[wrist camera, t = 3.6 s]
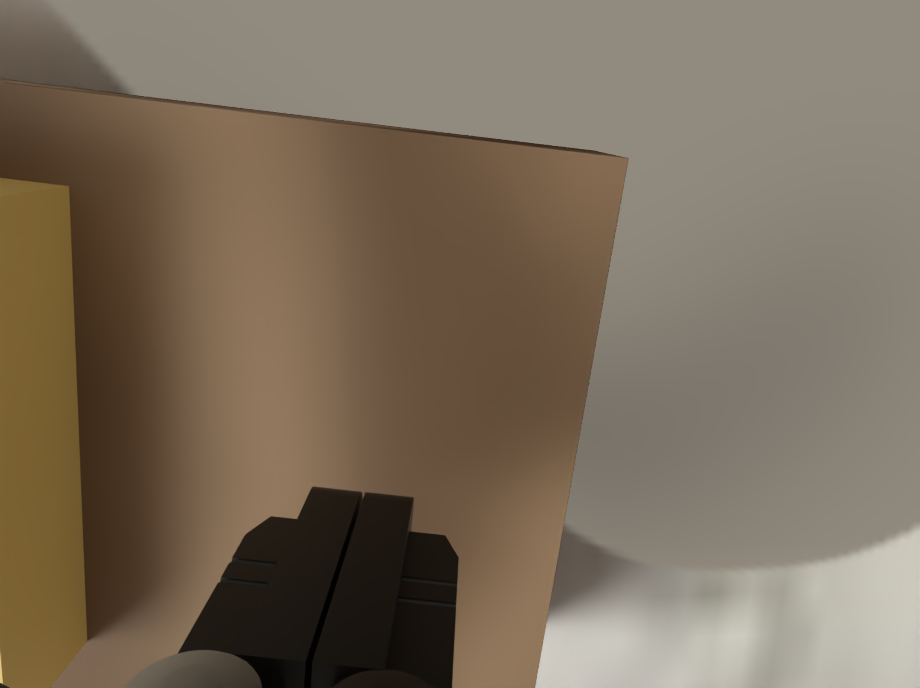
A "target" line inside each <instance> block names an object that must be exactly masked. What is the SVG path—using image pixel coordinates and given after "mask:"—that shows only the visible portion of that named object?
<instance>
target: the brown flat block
mask: <svg viewBox="0 0 920 688" xmlns="http://www.w3.org/2000/svg"><path fill="white" fill-rule="evenodd" d="M627 164H628V158H625V157H619V156H616V155H611V154H606V153H602V152H598V151H592V150H584V149H575V148H567V147H559V146H551V145H543V144H534V143H526V142H517V141H509V140H501V139H493V138H484V137H476V136H468V135H460V134H451V133H443V132H434V131H426V130H418V129H409V128H401V127H393V126H385V125H376V124H368V123H360V122H351V121H343V120H335V119H327V118H318V117H310V116H302V115H293V114H285V113H277V112H268V111H260V110H252V109H244V108H235V107H226V106H219V105H211V104H202V103H194V102H185V101H177V100H169V99H161V98H152V97H144V96H136V95H128V94H119V93H111V92H103V91H94V90H86V89H78V88H69V87H61V86H53V85H45V84H36V83H28V82H20V81H11V80H3V79H0V178H6V179H14V180H22V181H31V182H39V183H47V184H55V185H63V186H69V197H70V222H71V247H72V272H73V297H74V322H75V348H76V373H77V398H78V423H79V448H80V473H81V498H82V523H83V548H84V573H85V598H86V623H87V642H86V643H85V645H84V646H83V647H82V648H81V650H80V651H79V652H78V654H77V655H76V656H75V657H74V659H73V660H72V661H71V662H70V664H69V665H68V666H67V667H66V669H65V670H64V671H63V673H62V674H61V675H60V676H59V678H58V679H57V680H56V681H55V683H54V684H53V685H52V687H51V688H124V687H125V686H126V684H127V683H128V682H129V681H130V680H131V679H132V678H133V677H134V676H135V675H136V674H138V673H139V672H140V671H141V670H143V669H145V668H146V667H148V666H149V665H151V664H153V663H155V662H157V661H159V660H161V659H163V658H166V657H169V656H171V655H175V654H178V652H179V650H180V648H181V647H182V645H183V643H184V641H185V640H186V638H187V636H188V634H189V632H190V631H191V629H192V627H193V625H194V624H195V622H196V620H197V618H198V617H199V615H200V613H201V611H202V610H203V608H204V606H205V604H206V603H207V601H208V599H209V597H210V596H211V594H212V592H213V590H214V588H215V587H216V585H217V583H218V582H219V583H220V580H221V576H222V574H223V573H224V571H225V569H226V567H227V566H228V564H229V562H231V561H232V557H233V555H234V553H235V552H236V550H237V548H238V546H239V544H240V543H241V541H242V539H243V537H244V536H245V534H246V533H248V532H249V531H251V530H252V529H253V528H255V527H256V526H258V525H259V524H261V523H262V522H263V521H265V520H266V519H268V518H269V517H270V516H274V517H283V518H292V519H297V518H298V516H299V514H300V511H301V509H302V507H303V505H304V503H305V501H306V498H307V496H308V494H309V492H310V490H311V488H312V487H313V486H315V487H324V488H333V489H342V490H351V491H360V492H362V494H363V497H364V494H365V492H370V493H379V494H388V495H397V496H406V497H414V507H413V517H412V527H411V531H412V532H421V533H430V534H439V535H446V537H447V539H448V540H449V542H450V544H451V546H452V547H453V549H454V551H455V552H456V554H457V556H458V557H459V562H458V581H457V601H456V621H455V640H454V660H453V680H452V688H535V684H536V679H537V673H538V667H539V662H540V656H541V650H542V645H543V639H544V634H545V628H546V622H547V617H548V611H549V605H550V600H551V594H552V588H553V583H554V577H555V571H556V566H557V560H558V554H559V549H560V543H561V537H562V532H563V526H564V520H565V515H566V509H567V503H568V498H569V492H570V487H571V481H572V475H573V470H574V464H575V458H576V453H577V446H578V441H579V435H580V430H581V424H582V419H583V413H584V407H585V401H586V396H587V390H588V385H589V379H590V374H591V368H592V362H593V356H594V351H595V345H596V339H597V334H598V328H599V323H600V317H601V311H602V306H603V300H604V294H605V289H606V282H607V277H608V272H609V266H610V260H611V255H612V249H613V244H614V238H615V232H616V227H617V220H618V215H619V209H620V204H621V198H622V192H623V187H624V181H625V176H626V170H627Z"/></svg>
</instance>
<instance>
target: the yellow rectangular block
mask: <svg viewBox="0 0 920 688" xmlns="http://www.w3.org/2000/svg"><path fill="white" fill-rule="evenodd" d="M86 642H87V623H86V598H85V573H84V548H83V523H82V498H81V473H80V448H79V423H78V398H77V373H76V348H75V322H74V297H73V272H72V247H71V222H70V197H69V186H63V185H55V184H47V183H39V182H31V181H22V180H14V179H6V178H0V683H2V684H4V685H6V686H7V687H9V688H51V687H52V685H53V684H54V683H55V681H56V680H57V679H58V678H59V676H60V675H61V674H62V673H63V671H64V670H65V669H66V667H67V666H68V665H69V664H70V662H71V661H72V660H73V659H74V657H75V656H76V655H77V654H78V652H79V651H80V650H81V648H82V647H83V646H84V645H85V643H86Z"/></svg>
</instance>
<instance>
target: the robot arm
mask: <svg viewBox="0 0 920 688" xmlns="http://www.w3.org/2000/svg"><path fill="white" fill-rule="evenodd" d="M413 507H414V497H406V496H397V495H388V494H379V493H370V492H365V494H364V497H363V494H362V492H360V491H351V490H342V489H333V488H324V487H315V486H313V487H312V488H311V490H310V492H309V494H308V496H307V498H306V501H305V503H304V505H303V507H302V509H301V511H300V514H299V516H298V518H297V519H292V518H283V517H274V516H270V517H269V518H268V519H266V520H265V521H263V522H262V523H261V524H259V525H258V526H256V527H255V528H253V529H252V530H251V531H249V532H248V533H246V534H245V536H244V537H243V539H242V541H241V543H240V544H239V546H238V548H237V550H236V552H235V553H234V555H233V557H232V561H231V562H229V564H228V566H227V567H226V569H225V571H224V573H223V574H222V576H221V580H220V583H219V582H218V583H217V585H216V587H215V588H214V590H213V592H212V594H211V596H210V597H209V599H208V601H207V603H206V604H205V606H204V608H203V610H202V611H201V613H200V615H199V617H198V618H197V620H196V622H195V624H194V625H193V627H192V629H191V631H190V632H189V634H188V636H187V638H186V640H185V641H184V643H183V645H182V647H181V648H180V650H179V652H178V654H175V655H171V656H169V657H166V658H163V659H161V660H159V661H157V662H155V663H153V664H151V665H149V666H148V667H146V668H145V669H143V670H141V671H140V672H139V673H138V674H136V675H135V676H134V677H133V678H132V679H131V680H130V681H129V682H128V683H127V684H126V686H125V687H124V688H452V680H453V660H454V640H455V621H456V601H457V581H458V562H459V557H458V556H457V554H456V552H455V551H454V549H453V547H452V546H451V544H450V542H449V540H448V539H447V537H446V535H439V534H430V533H421V532H412V531H411V527H412V517H413ZM0 688H9V687H7V686H6V685H4V684H2V683H0Z"/></svg>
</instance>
